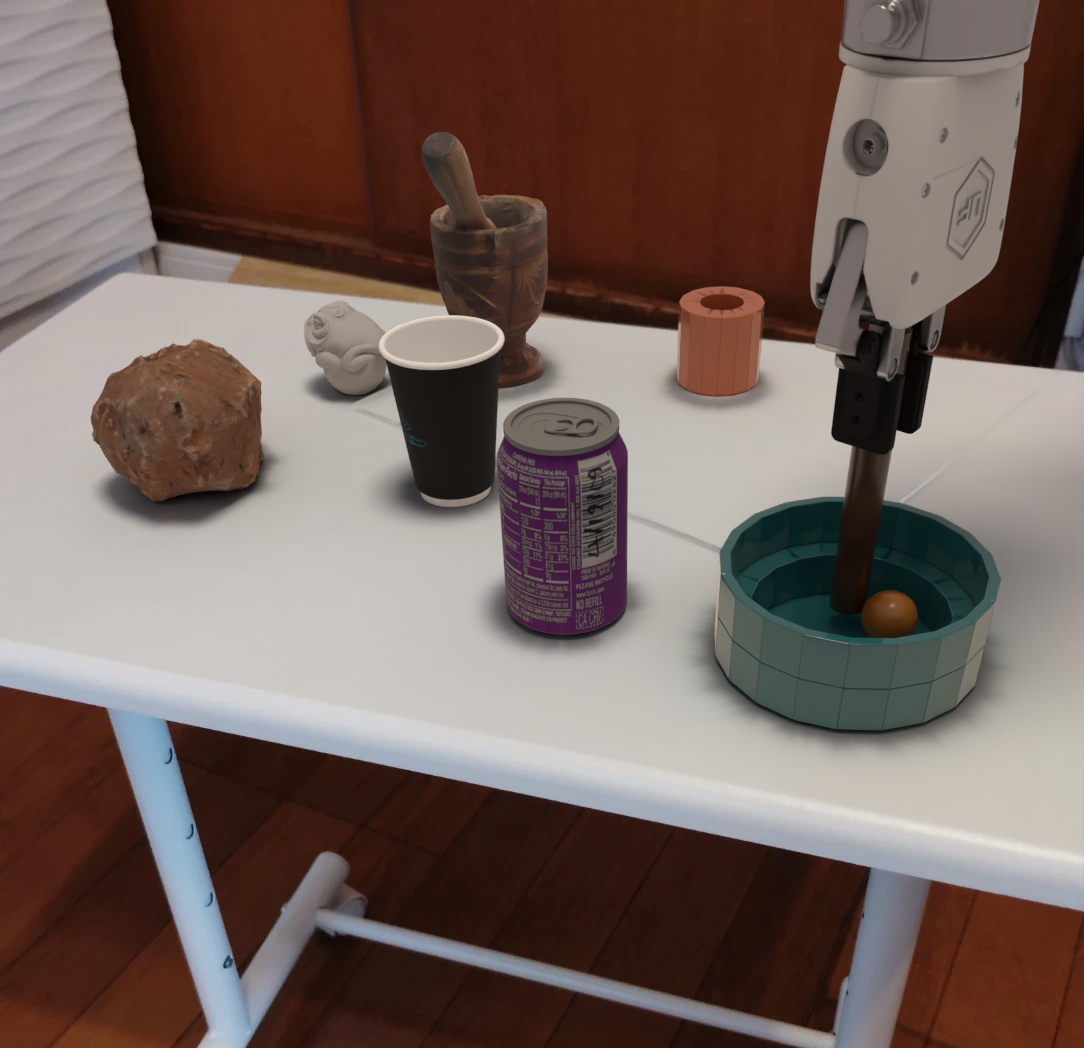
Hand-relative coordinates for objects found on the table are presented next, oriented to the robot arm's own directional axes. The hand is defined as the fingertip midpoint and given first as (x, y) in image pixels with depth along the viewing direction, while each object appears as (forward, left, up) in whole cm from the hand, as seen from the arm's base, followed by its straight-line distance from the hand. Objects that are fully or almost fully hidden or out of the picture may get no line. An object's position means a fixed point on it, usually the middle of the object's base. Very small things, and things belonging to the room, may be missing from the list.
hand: (875, 432), depth 60 cm
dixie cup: (+2, -29, -13) cm, 32 cm away
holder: (-22, -24, -12) cm, 35 cm away
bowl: (+2, +1, -12) cm, 13 cm away
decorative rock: (+12, -45, -13) cm, 48 cm away
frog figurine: (-5, -47, -13) cm, 49 cm away
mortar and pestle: (-12, -38, -13) cm, 42 cm away
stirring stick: (0, 0, -11) cm, 11 cm away
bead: (0, +2, -10) cm, 11 cm away
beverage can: (+8, -14, -13) cm, 20 cm away
